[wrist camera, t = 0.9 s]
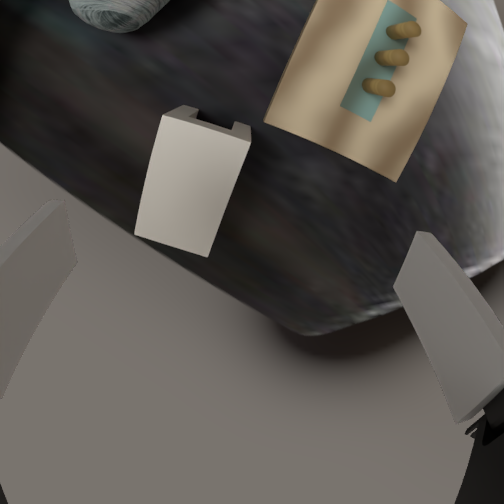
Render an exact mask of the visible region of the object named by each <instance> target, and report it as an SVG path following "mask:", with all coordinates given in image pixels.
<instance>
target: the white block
mask: <svg viewBox="0 0 504 504" xmlns="http://www.w3.org/2000/svg"><path fill="white" fill-rule="evenodd" d="M198 111H199V109H196V108H193V107H189V106H186V105H182V106H180V107H178V108H176V109H174V110H172V111H170V112H168V113H166V114H164V115H162V119H161V122H160V126H159V129H158V133H157V136H156V140H155V143H154V147H153V151H152V155H151V159H150V163H149V167H148V171H147V175H146V179H145V184H144V188H143V193H142V197H141V202H140V207H139V212H138V217H137V222H136V227H135V233H134V234H135V235H138V236H141V237H144V238H147V239H150V240H153V241H157V242H160V243H163V244H166V245H169V246H172V247H176V248H179V249H182V250H185V251H188V252H192V253H195V254H198V255H201V256H205V257H208V255H209V252H210V250H211V247H212V244H213V241H214V238H215V236H216V233H217V230H218V228H219V225H220V222H221V219H222V217H223V214H224V211H225V209H226V206H227V203H228V201H229V198H230V196H231V193H232V190H233V188H234V185H235V182H236V180H237V177H238V175H239V172H240V170H241V167H242V165H243V162H244V159H245V157H246V154H247V152H248V149H249V147H250V144H251V126H248V125H245V124H243V123H240V122H237V121H235V122H234V124H233V127H232V130H229V129H226V128H223V127H220V126H217V125H214V124H211V123H208V122H204V121H201V120H198V119H196V117H197V114H198Z"/></svg>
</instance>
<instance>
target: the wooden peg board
mask: <svg viewBox="0 0 504 504" xmlns="http://www.w3.org/2000/svg"><path fill="white" fill-rule="evenodd" d="M466 27H467V23H466V22H465V21H464V20H463V19H461V18H460V17H459V16H458V15H457V14H456V13H454V12H453V11H452V10H451V9H450V8H448V7H447V6H446V5H445V4H444V3H442V2H441V1H440V0H316V2H315V4H314V6H313V8H312V10H311V12H310V15H309V17H308V19H307V21H306V23H305V25H304V27H303V30H302V32H301V34H300V36H299V38H298V40H297V43H296V45H295V47H294V49H293V52H292V54H291V56H290V58H289V61H288V63H287V65H286V67H285V70H284V72H283V74H282V76H281V79H280V81H279V83H278V86H277V88H276V90H275V93H274V95H273V97H272V100H271V102H270V104H269V107H268V109H267V112H266V114H265V116H264V119H263V121H264V122H265V123H268V124H270V125H273V126H276V127H278V128H281V129H283V130H286V131H288V132H291V133H293V134H296V135H298V136H300V137H303V138H305V139H308V140H310V141H312V142H315V143H317V144H319V145H321V146H324V147H326V148H328V149H330V150H332V151H335V152H337V153H339V154H341V155H343V156H345V157H347V158H349V159H351V160H354V161H356V162H358V163H360V164H362V165H364V166H366V167H368V168H370V169H372V170H373V171H375V172H377V173H379V174H381V175H383V176H385V177H387V178H389V179H391V180H392V181H394V182H397V180H398V178H399V176H400V174H401V172H402V171H403V169H404V167H405V165H406V163H407V161H408V159H409V157H410V155H411V153H412V151H413V150H414V148H415V146H416V144H417V142H418V140H419V138H420V136H421V134H422V132H423V129H424V127H425V125H426V123H427V121H428V119H429V117H430V115H431V113H432V111H433V108H434V106H435V104H436V102H437V100H438V97H439V95H440V93H441V91H442V88H443V86H444V84H445V81H446V79H447V76H448V74H449V72H450V69H451V67H452V64H453V62H454V59H455V57H456V54H457V52H458V49H459V46H460V44H461V41H462V38H463V35H464V33H465V30H466Z"/></svg>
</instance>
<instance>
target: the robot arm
mask: <svg viewBox="0 0 504 504" xmlns="http://www.w3.org/2000/svg"><path fill="white" fill-rule="evenodd" d="M76 264H77V258H76V253H75V249H74V245H73V240H72V236H71V231H70V226H69V221H68V216H67V210H66V204H65V200H49V201H48V202H46V203H45V204H44V205H43V206H42V207H41V208H39V209H38V210H37V211H36V212H35V213H34V214H33V215H32V216H31V217H30V218H29V219H28V220H27V221H25V222H24V223H23V224H22V225H21V226H20V227H19V228H18V229H17V230H16V231H15V232H14V233H13V234H12V235H11V236H10V237H9V238H8V239H7V240H6V242H4V243H3V244H2V245H1V246H0V399H2V398H3V396H4V393H5V391H6V389H7V386H8V384H9V382H10V380H11V377H12V375H13V373H14V371H15V369H16V367H17V365H18V363H19V361H20V359H21V357H22V355H23V353H24V351H25V349H26V347H27V345H28V343H29V341H30V339H31V337H32V335H33V334H34V332H35V330H36V328H37V327H38V325H39V323H40V321H41V319H42V318H43V316H44V314H45V313H46V311H47V309H48V308H49V306H50V304H51V302H52V301H53V299H54V298H55V296H56V294H57V293H58V291H59V289H60V288H61V286H62V285H63V283H64V282H65V280H66V279H67V277H68V275H69V274H70V272H71V271H72V270H73V268H74V267H75V265H76ZM393 288H394V290H395V292H396V294H397V295H398V297H399V299H400V301H401V303H402V305H403V307H404V309H405V311H406V313H407V314H408V317H409V318H410V321H411V322H412V324H413V327H414V328H415V330H416V333H417V334H418V337H419V339H420V341H421V343H422V345H423V347H424V349H425V352H426V354H427V356H428V358H429V360H430V363H431V365H432V367H433V369H434V372H435V374H436V376H437V379H438V381H439V383H440V386H441V388H442V391H443V393H444V396H445V398H446V401H447V403H448V406H449V408H450V411H451V414H452V416H453V419H454V422H455V424H457V423H461V422H463V421H466V420H469V419H471V418H472V417H474V416H475V415H476V414H477V413H478V412H479V411H480V410H481V409H484V412H485V414H484V415H483V416H482V417H481V418H480V419H479V420H477V421H476V422H475V423H474V424H472V425H471V426H470V427H469V428H468V429H467V430H466V432H465V434H466V435H468V434H469V433H470V432H471V431H473V430H474V429H475V428H477V430H476V431H475V432H473V433H472V434H471V437H472V438H474V439H475V441H474V446H473V449H472V453H471V456H470V460H469V463H468V467H467V470H466V473H465V476H464V479H463V482H462V485H461V488H460V490H459V493H458V496H457V498H456V501H455V504H504V327H503V326H502V324H501V322H500V321H499V319H498V318H497V316H496V315H495V313H494V312H493V311H492V309H491V308H490V306H489V305H488V303H487V302H486V301H485V300H484V298H483V297H482V295H481V294H480V292H479V291H478V290H477V288H476V287H475V286H474V284H473V283H472V282H471V280H470V279H469V278H468V276H467V275H466V274H465V273H464V271H463V270H462V269H461V268H460V266H459V265H458V264H457V263H456V261H455V260H454V259H453V258H452V257H451V255H450V254H449V253H448V252H447V251H446V249H445V248H444V247H443V246H442V245H441V244H440V242H439V241H438V240H437V239H436V238H435V237H434V236H433V234H432V233H428V232H422V231H416V234H415V236H414V239H413V241H412V244H411V246H410V249H409V251H408V254H407V256H406V258H405V261H404V263H403V265H402V268H401V270H400V272H399V274H398V277H397V279H396V281H395V283H394V285H393ZM0 504H8V502H7V500H6V497H5V495H4V493H3V490H2V487H1V484H0Z"/></svg>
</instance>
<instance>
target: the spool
mask: <svg viewBox="0 0 504 504" xmlns="http://www.w3.org/2000/svg"><path fill="white" fill-rule="evenodd" d="M169 1H170V0H69V2H70V6H71V8H72V10H73V12H74V13H75V14H76V15H77V16H78V17H79V18H80V19H82V20H83V21H84V22H86V23H88V24H89V25H92V26H94V27H96V28H99V29H102V30H106V31H110V32H116V33H126V32H130V31H134V30H136V29H138V28H140V27H141V26H143V25H144V24H145V23H147V22H148V21H149V20H150V19H151V18H152V17H153V16H154V15H155V14H156V13H157V12H158V11H160V10H161V9H162V8H163V7H164V6H165V5H166V4H167V3H168V2H169Z"/></svg>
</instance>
